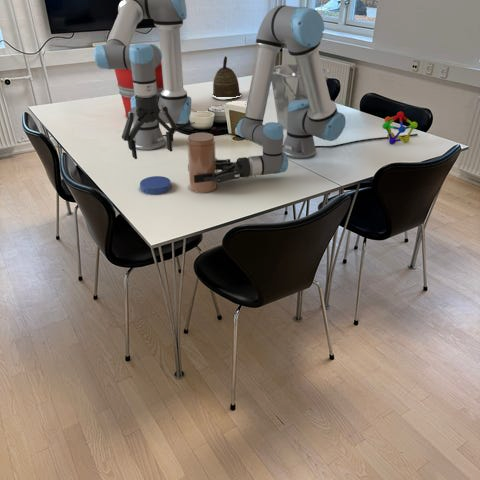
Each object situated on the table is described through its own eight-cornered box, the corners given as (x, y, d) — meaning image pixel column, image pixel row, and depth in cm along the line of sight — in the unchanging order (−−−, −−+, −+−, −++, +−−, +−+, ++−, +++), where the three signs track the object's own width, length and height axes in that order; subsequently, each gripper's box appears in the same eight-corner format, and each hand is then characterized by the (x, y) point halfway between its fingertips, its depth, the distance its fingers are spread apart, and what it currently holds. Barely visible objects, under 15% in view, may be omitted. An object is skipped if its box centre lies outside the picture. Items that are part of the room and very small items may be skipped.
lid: (177, 187, 168) (176, 182, 166) (153, 197, 160) (152, 191, 159) (158, 179, 174) (158, 173, 173) (134, 188, 167) (133, 182, 166)
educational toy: (377, 146, 209) (379, 114, 202) (384, 138, 219) (386, 107, 211) (411, 149, 202) (415, 116, 195) (417, 141, 212) (420, 109, 204)
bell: (227, 105, 294) (202, 96, 282) (238, 66, 289) (213, 55, 277) (243, 108, 280) (217, 98, 268) (255, 66, 275) (229, 55, 263)
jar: (186, 183, 171) (183, 133, 160) (211, 180, 174) (210, 130, 163) (194, 194, 163) (191, 142, 152) (219, 190, 166) (218, 139, 155)
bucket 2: (296, 138, 215) (301, 78, 201) (255, 124, 234) (256, 68, 219) (335, 125, 232) (342, 70, 217) (294, 113, 251) (297, 61, 236)
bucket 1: (125, 105, 263) (118, 51, 247) (184, 106, 262) (180, 52, 246) (109, 123, 234) (99, 63, 218) (175, 124, 233) (170, 64, 217)
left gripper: (113, 103, 141) (123, 164, 153) (184, 91, 152) (188, 150, 164) (106, 97, 146) (115, 157, 158) (174, 87, 157) (179, 143, 169)
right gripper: (257, 187, 162) (198, 195, 157) (239, 165, 181) (185, 171, 175) (258, 168, 158) (197, 175, 153) (239, 147, 177) (184, 153, 171)
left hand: (152, 153), depth 161 cm, fingers open, 13 cm apart
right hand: (191, 173), depth 164 cm, fingers closed on jar, 10 cm apart
